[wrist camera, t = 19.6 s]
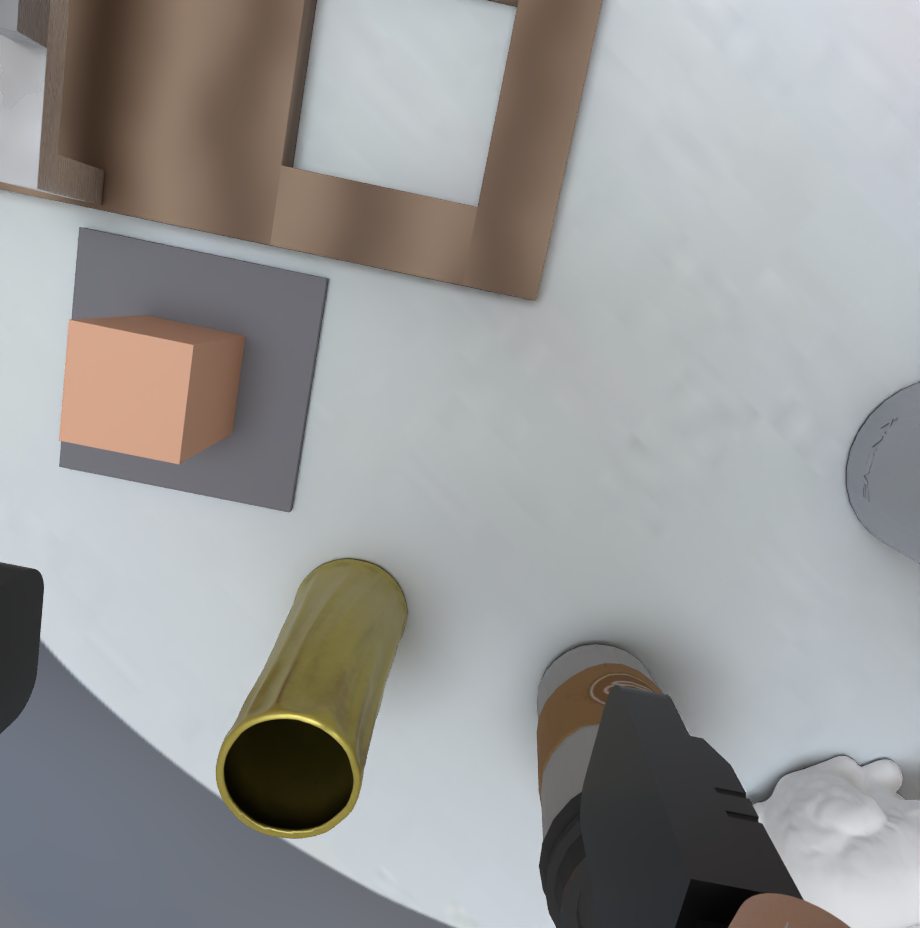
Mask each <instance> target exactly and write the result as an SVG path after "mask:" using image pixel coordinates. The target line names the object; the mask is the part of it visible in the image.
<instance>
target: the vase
mask: <svg viewBox="0 0 920 928" xmlns="http://www.w3.org/2000/svg"><path fill="white" fill-rule="evenodd" d="M406 618H407V607H406V602H405V598H404V595H403V593H402V591H401V589H400V587H399V586H398V584H397V583H396V581H395V580H394V579H393V578H392V577H391V576H390V575H389V574H388V573H387V572H385V571H384V570H383V569H381V568H379V567H378V566H376V565H373V564H371V563H368V562H364V561H359V560H353V559H341V560H335V561H331V562H329V563H326V564H323V565H321V566H319V567H318V568H316V569H315V570H313V571H312V572H311V573H310V574H309V575H308V576H307V577H306V578H305V579H304V581H303V582H302V583H301V585H300V587H299V588H298V591H297V594H296V597H295V601H294V604H293V606H292V608H291V610H290V613H289V615H288V617H287V619H286V621H285V623H284V625H283V627H282V629H281V631H280V634H279V636H278V639H277V641H276V643H275V646H274V648H273V650H272V652H271V654H270V656H269V658H268V660H267V663H266V665H265V667H264V669H263V671H262V673H261V674H260V676H259V678H258V680H257V681H256V683H255V685H254V687H253V688H252V690H251V692H250V693H249V695H248V697H247V699H246V700H245V702H244V704H243V706H242V708H241V711H240V713H239V715H238V718H237V720H236V722H235V723H234V725H233V727H232V728H231V729H230V731H229V732H228V734H227V735H226V737H225V739H224V741H223V743H222V746H221V749H220V752H219V755H218V759H217V765H216V781H217V786H218V789H219V792H220V794H221V797H222V799H223V801H224V802H225V804H226V805H227V807H228V808H229V809H230V810H231V811H232V812H233V813H234V815H236V817H237V818H238V819H239V820H241V821H242V822H243V823H244V824H245V825H247V826H248V827H250V828H252V829H254V830H256V831H258V832H261V833H263V834H266V835H271V836H275V837H282V838H292V839H297V838H306V837H312V836H316V835H320V834H323V833H325V832H327V831H329V830H331V829H332V828H334V827H335V826H336V825H337V824H338V823H340V822H341V821H342V820H343V819H344V818H346V817H347V816H348V814H349V813H350V812H351V811H352V809H353V808H354V806H355V804H356V802H357V799H358V797H359V793H360V790H361V786H362V779H363V773H364V767H365V764H366V759H367V754H368V750H369V746H370V741H371V737H372V733H373V729H374V725H375V720H376V718H377V715H378V713H379V709H380V706H381V701H382V697H383V692H384V688H385V684H386V681H387V678H388V675H389V672H390V669H391V666H392V663H393V660H394V657H395V654H396V650H397V646H398V643H399V640H400V639H401V637H402V635H403V632H404V628H405V623H406Z"/></svg>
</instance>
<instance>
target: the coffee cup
mask: <svg viewBox="0 0 920 928" xmlns="http://www.w3.org/2000/svg"><path fill="white" fill-rule="evenodd" d="M615 685H619V686H624V687H629V688H635V689H640V690H645V691H650V692H655V693H660V694H663V693H662V692H661V691H660V689H659V688H658V686H657V685H656V683H655V682H654V680H653V678H652V677H651V675H650V674H649V672H648V670H647V669H646V668H645V667H644V666H643V664H642V663H641V662H640V661H639V660H638V659H637V658H635V657H634V656H633V655H631V654H630V653H628V652H627V651H624V650H621V649H618V648H616V647H613V646H608V645H598V644H592V645H585V646H580V647H577V648H575V649H572V650H570V651H567V652H566V653H565V654H563V655H562V656H561V657H559V658H558V659H557V660H555V661H554V662H553V663H552V665H551V666H550V667H549V668H548V669H547V671H546V672H545V673H544V676H543V678H542V680H541V682H540V685H539V689H538V697H537V710H538V727H537V753H538V781H539V794H540V801H541V807H542V827H543V843H542V849H541V856H540V863H539V869H540V875H541V881H542V888H543V891H544V893H545V895H546V899H547V905H548V910H549V914H550V916H551V918H552V920H553V922H554V924H555V926H556V928H600V924H599V919H598V914H597V909H596V904H595V899H594V894H593V888H592V883H591V878H590V873H589V868H588V863H587V858H586V853H585V848H584V843H583V838H582V833H581V826H580V804H581V795H582V788H583V783H584V779H585V775H586V772H587V768H588V765H589V761H590V757H591V754H592V750H593V746H594V743H595V739H596V736H597V732H598V728H599V725H600V721H601V718H602V714H603V710H604V707H605V703H606V700H607V697H608V695H609V692H610V690H611V689H612V687H613V686H615ZM687 732H688V731H687ZM688 734H689V733H688ZM689 736H690V735H689Z"/></svg>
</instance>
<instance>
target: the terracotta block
mask: <svg viewBox="0 0 920 928" xmlns="http://www.w3.org/2000/svg"><path fill="white" fill-rule="evenodd" d="M244 343H245V335H240V334H235V333H230V332H225V331H220V330H216V329H211V328H206V327H201V326H196V325H191V324H186V323H181V322H176V321H172V320H167V319H162V318H157V317H152V316H147V315H136V316H120V317H104V318H88V319H72V320H69V327H68V339H67V351H66V363H65V375H64V388H63V400H62V412H61V424H60V436H59V441H64V442H69V443H74V444H79V445H84V446H89V447H94V448H99V449H104V450H109V451H114V452H119V453H124V454H129V455H134V456H139V457H145V458H150V459H155V460H160V461H165V462H170V463H175V464H181V463H182V462H184V461H186V460H188V459H189V458H191V457H193V456H194V455H196V454H198V453H200V452H201V451H203V450H205V449H206V448H208V447H210V446H212V445H213V444H215V443H217V442H219V441H220V440H222V439H224V438H225V437H227V436H229V435H231V434H232V431H233V424H234V416H235V409H236V402H237V394H238V387H239V380H240V372H241V365H242V357H243V350H244Z"/></svg>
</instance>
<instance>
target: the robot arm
mask: <svg viewBox="0 0 920 928" xmlns="http://www.w3.org/2000/svg"><path fill="white" fill-rule="evenodd" d="M847 489H848V494H849V498H850V502H851V505H852V507H853V509H854V511H855V513H856V515H857V517H858V519H859V520H860V521H861V523H862V524H863V525H864V526H865V527H866V528H867V530H868V531H869V532H870V533H871V534H873V535H874V536H876V537H877V538H878V539H880V540H881V541H882V542H884V543H885V544H887V545H889V546H890V547H892V548H894V549H895V550H897V551H899V552H900V553H902V554H904V555H905V556H907V557H909V558H910V559H912V560H914V561H915V562H917V563H919V564H920V382H919V383H917V384H914V385H912V386H910V387H907V388H905V389H902V390H901V391H899V392H898V393H896V394H895V395H893V396H892V397H890V398H889V399H887V400H886V401H885V402H883V403H882V404H881V405H880V406H879V407H878V408H877V409H876V410H875V411H874V412H873V413H872V414H871V415H870V416H869V418H868V419H867V421H866V422H865V424H864V425H863V426H862V428H861V429H860V431H859V432H858V435H857V437H856V439H855V441H854V444H853V446H852V448H851V451H850V456H849V460H848V465H847ZM43 593H44V583H43V578H42V575H41V573H40V572H39V571H38V570H36V569H32V568H27V567H22V566H17V565H12V564H6V563H1V562H0V734H1V733H2V732H3V731H4V730H5V729H6V728H7V727H8V726H9V725H10V724H11V723H12V722H13V721H14V720H15V719H16V718H17V717H18V716H19V715H20V713H21V712H22V710H23V709H24V707H25V706H26V703H27V702H28V700H29V697H30V695H31V693H32V690H33V687H34V684H35V680H36V675H37V665H38V654H39V642H40V630H41V618H42V606H43ZM758 819H759V816H758V815H757V813H756V811H755V809H754V807H753V805H752V803H751V802H750V800H749V799H747V798H746V792H745V791H744V789H743V787H742V785H741V783H740V781H739V779H738V778H737V776H736V774H735V772H734V770H733V768H732V767H731V765H730V764H729V763H728V762H727V761H726V760H725V759H724V758H723V757H722V756H721V755H720V754H719V753H718V752H716V751H715V750H714V749H713V748H712V747H711V746H710V745H709V744H708V743H707V742H706V741H705V740H704V739H703V738H697V737H692V736H689V734H688V732H687V730H686V728H685V726H684V724H683V722H682V720H681V718H680V716H679V714H678V712H677V709H676V707H675V705H674V703H673V701H672V699H671V698H670V697H669V696H668V695H665V694H660V693H655V692H650V691H645V690H640V689H635V688H629V687H624V686H619V685H615V686H613V687H612V689H611V690H610V692H609V695H608V697H607V700H606V703H605V707H604V710H603V714H602V718H601V721H600V725H599V728H598V732H597V736H596V739H595V743H594V746H593V750H592V754H591V757H590V761H589V765H588V768H587V772H586V775H585V779H584V783H583V788H582V795H581V804H580V826H581V833H582V838H583V843H584V848H585V853H586V858H587V863H588V868H589V873H590V878H591V883H592V888H593V894H594V899H595V904H596V909H597V914H598V919H599V924H600V928H851V927H849V926H848V925H847V924H846V923H844V922H843V921H841V920H840V919H838V918H837V917H835V916H834V915H832V914H831V913H829V912H827V911H825V910H824V909H822V908H820V907H818V906H816V905H814V904H811V903H809V902H807V901H805V900H804V899H803V898H802V896H801V894H800V892H799V890H798V888H797V886H796V885H795V883H794V881H793V879H792V877H791V875H790V874H789V872H788V870H787V868H786V866H785V864H784V862H783V861H782V859H781V857H780V855H779V853H778V851H777V850H776V848H775V846H774V844H773V842H772V840H771V839H770V837H769V835H768V833H767V831H766V829H765V827H764V826H763V824H762V823H759V821H758Z"/></svg>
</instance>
